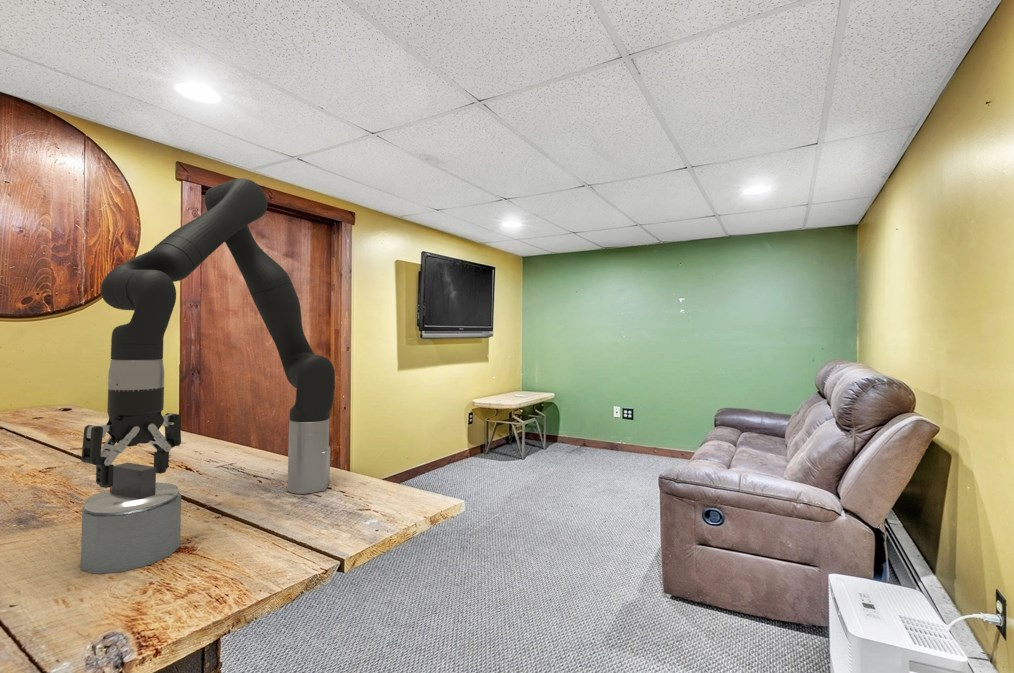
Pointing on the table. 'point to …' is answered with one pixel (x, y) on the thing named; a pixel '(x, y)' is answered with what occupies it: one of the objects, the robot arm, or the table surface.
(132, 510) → the lid
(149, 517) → the pot
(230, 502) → the table surface
